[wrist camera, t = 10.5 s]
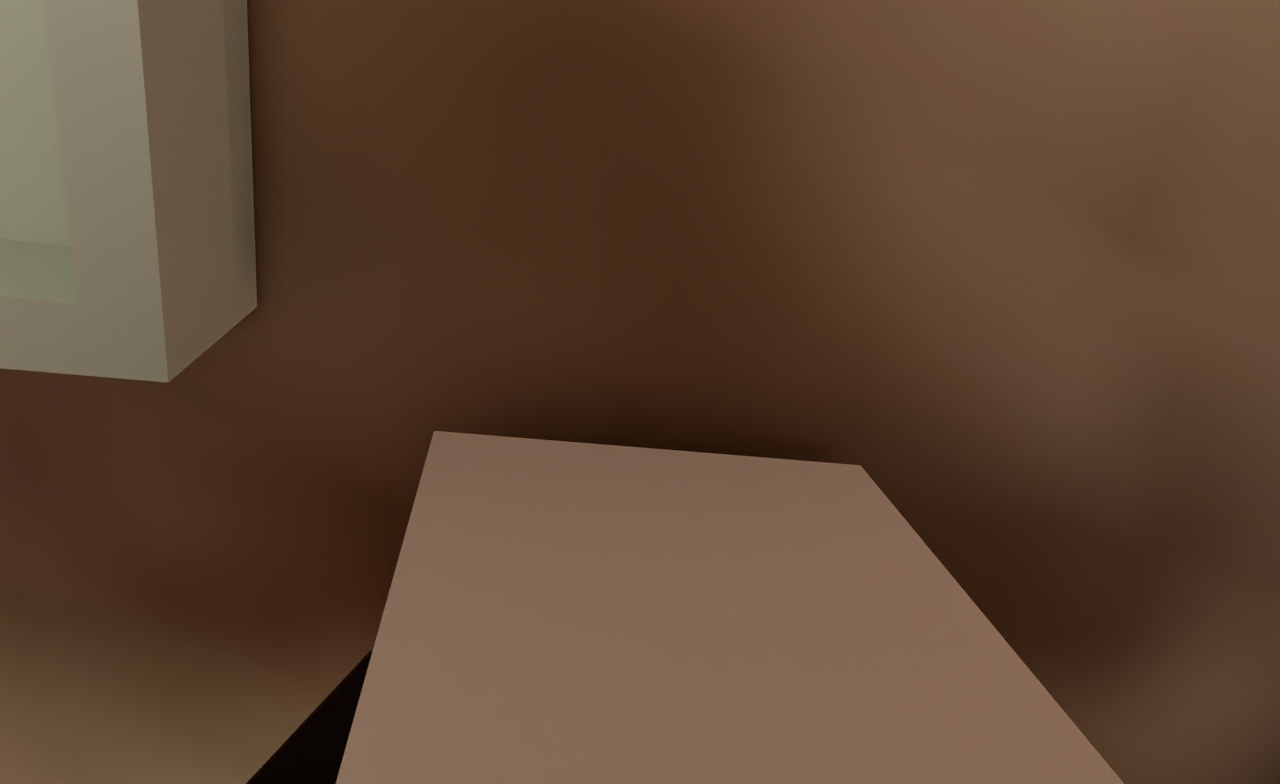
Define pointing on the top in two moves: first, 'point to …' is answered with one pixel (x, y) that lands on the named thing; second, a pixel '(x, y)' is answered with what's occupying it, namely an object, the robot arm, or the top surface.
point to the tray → (123, 184)
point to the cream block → (685, 633)
